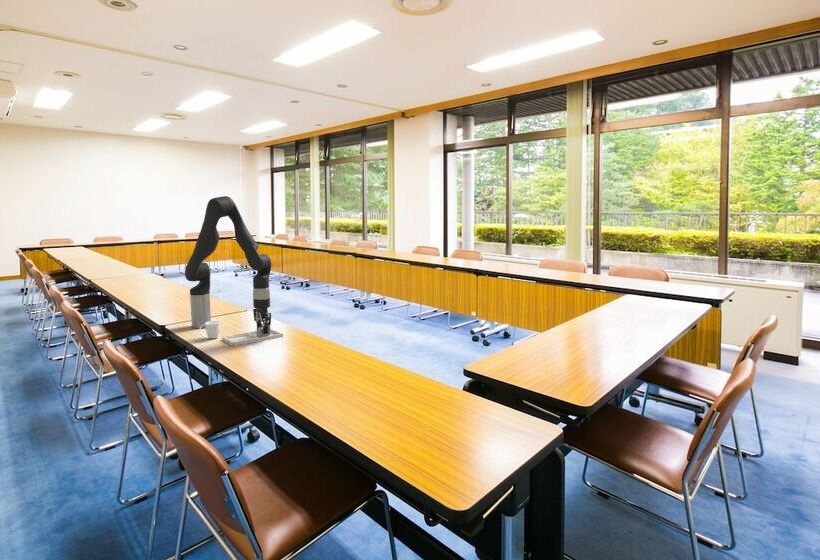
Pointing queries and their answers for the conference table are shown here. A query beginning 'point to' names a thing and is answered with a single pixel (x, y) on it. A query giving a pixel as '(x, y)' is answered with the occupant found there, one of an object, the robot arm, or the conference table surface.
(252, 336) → the divided tray
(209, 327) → the cup
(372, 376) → the conference table surface
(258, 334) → the stone
